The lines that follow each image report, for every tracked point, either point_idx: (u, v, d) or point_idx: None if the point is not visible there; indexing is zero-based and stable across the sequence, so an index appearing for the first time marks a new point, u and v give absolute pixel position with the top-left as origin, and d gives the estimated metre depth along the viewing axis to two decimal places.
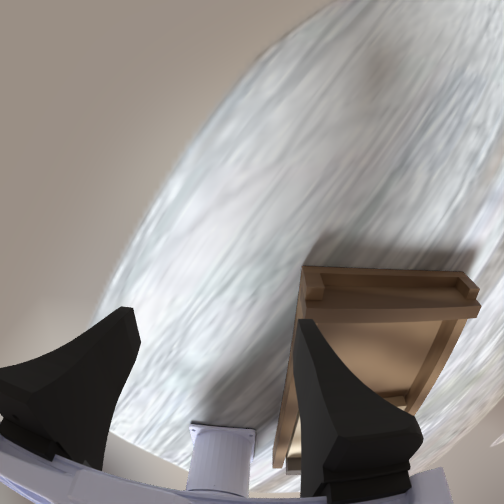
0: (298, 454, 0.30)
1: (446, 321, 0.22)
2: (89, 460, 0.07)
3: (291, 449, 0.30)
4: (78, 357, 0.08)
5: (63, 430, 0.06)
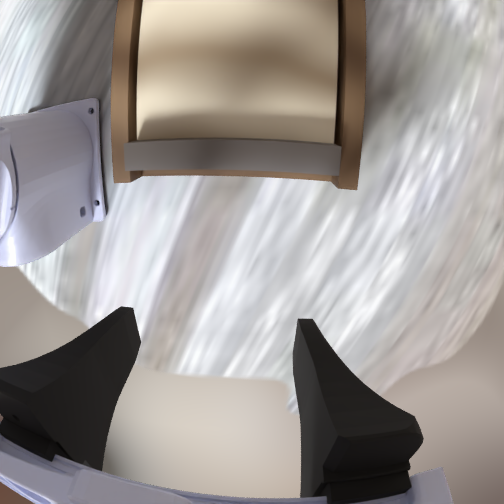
0: (155, 125, 0.16)
1: None
2: (89, 460, 0.07)
3: (139, 102, 0.16)
4: (78, 357, 0.08)
5: (63, 430, 0.06)
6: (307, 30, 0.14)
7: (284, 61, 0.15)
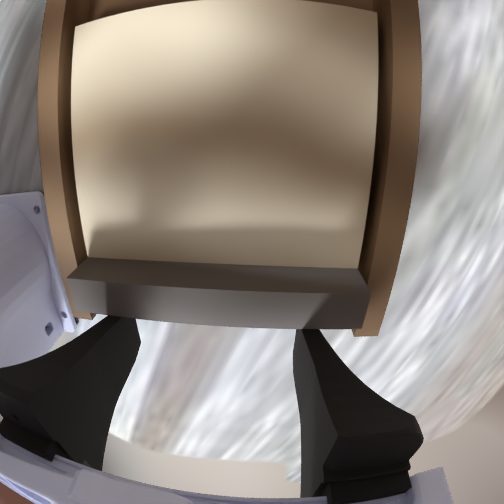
0: (106, 240, 0.12)
1: None
2: (89, 460, 0.07)
3: (82, 206, 0.11)
4: (77, 357, 0.08)
5: (63, 430, 0.06)
6: (329, 88, 0.09)
7: (291, 145, 0.10)
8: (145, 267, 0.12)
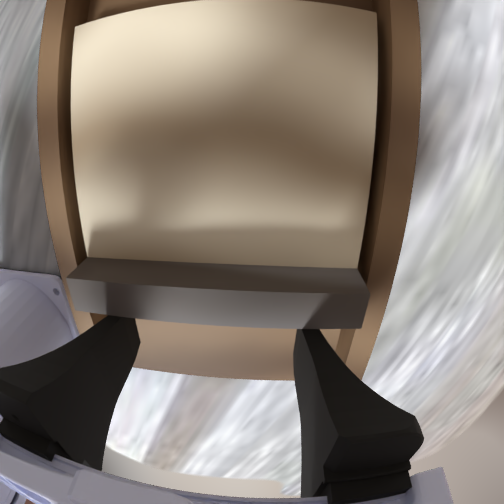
0: (106, 240, 0.12)
1: None
2: (89, 460, 0.07)
3: (82, 206, 0.11)
4: (77, 357, 0.08)
5: (62, 430, 0.06)
6: (329, 88, 0.09)
7: (290, 145, 0.10)
8: (145, 267, 0.12)
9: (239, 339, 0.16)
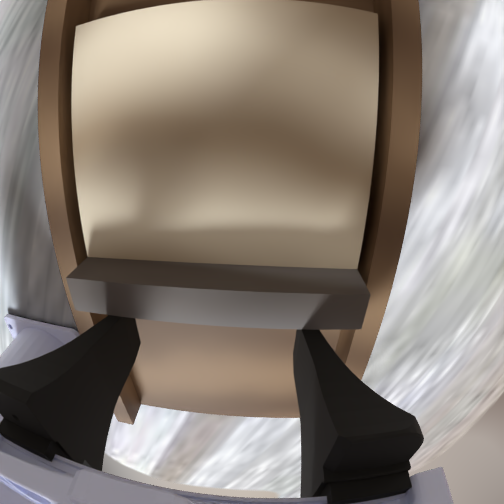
0: (107, 240, 0.12)
1: (378, 8, 0.08)
2: (89, 460, 0.07)
3: (82, 206, 0.11)
4: (77, 357, 0.08)
5: (63, 430, 0.06)
6: (330, 89, 0.09)
7: (291, 145, 0.10)
8: (145, 267, 0.12)
9: (239, 388, 0.18)
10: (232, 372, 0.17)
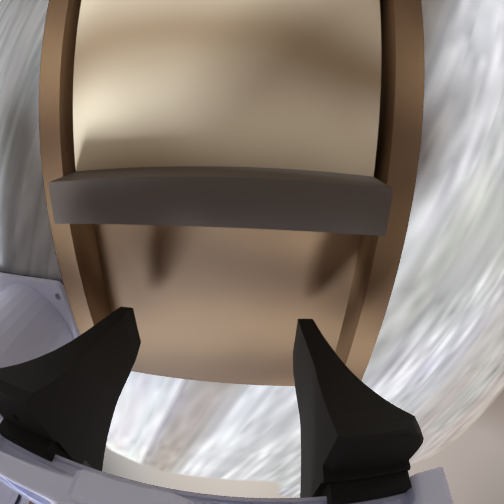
0: (97, 149, 0.10)
1: None
2: (89, 460, 0.07)
3: (76, 114, 0.10)
4: (78, 357, 0.08)
5: (63, 430, 0.06)
6: None
7: (297, 41, 0.09)
8: (136, 170, 0.10)
9: (239, 346, 0.16)
10: (232, 324, 0.15)
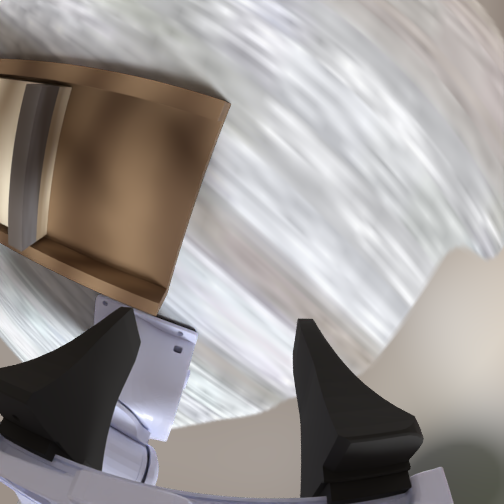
0: None
1: None
2: (89, 460, 0.07)
3: (5, 223, 0.19)
4: (77, 357, 0.08)
5: (63, 430, 0.06)
6: None
7: None
8: None
9: (148, 183, 0.19)
10: (128, 182, 0.19)
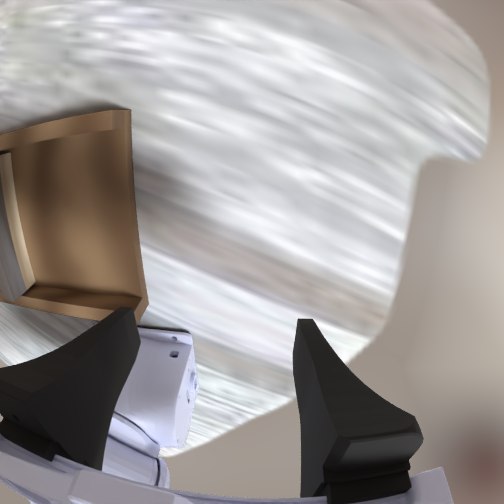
0: None
1: None
2: (89, 460, 0.07)
3: None
4: (78, 357, 0.08)
5: (63, 430, 0.06)
6: None
7: None
8: None
9: (90, 207, 0.19)
10: (75, 212, 0.20)
